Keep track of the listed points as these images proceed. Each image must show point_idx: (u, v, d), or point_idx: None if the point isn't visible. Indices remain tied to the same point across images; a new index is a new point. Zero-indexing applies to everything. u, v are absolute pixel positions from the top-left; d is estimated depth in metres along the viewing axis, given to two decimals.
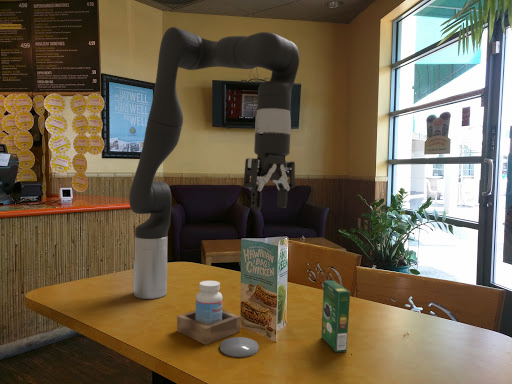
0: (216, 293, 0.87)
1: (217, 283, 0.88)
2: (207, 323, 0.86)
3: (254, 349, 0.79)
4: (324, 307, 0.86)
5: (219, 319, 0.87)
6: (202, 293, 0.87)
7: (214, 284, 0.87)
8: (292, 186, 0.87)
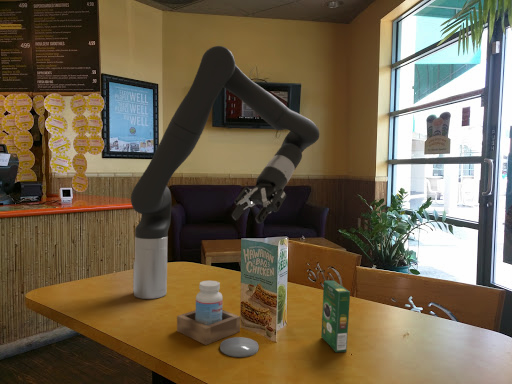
0: (216, 293, 0.87)
1: (217, 283, 0.88)
2: (207, 323, 0.86)
3: (254, 349, 0.79)
4: (324, 307, 0.86)
5: (219, 319, 0.87)
6: (202, 293, 0.87)
7: (214, 284, 0.87)
8: None
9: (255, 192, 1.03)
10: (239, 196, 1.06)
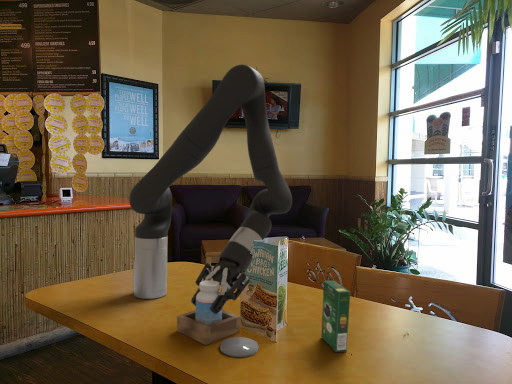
0: (216, 293, 0.87)
1: (217, 283, 0.88)
2: (207, 323, 0.86)
3: (254, 349, 0.79)
4: (324, 307, 0.86)
5: (219, 319, 0.87)
6: (202, 293, 0.87)
7: (214, 284, 0.87)
8: None
9: (218, 271, 0.92)
10: (200, 276, 0.94)
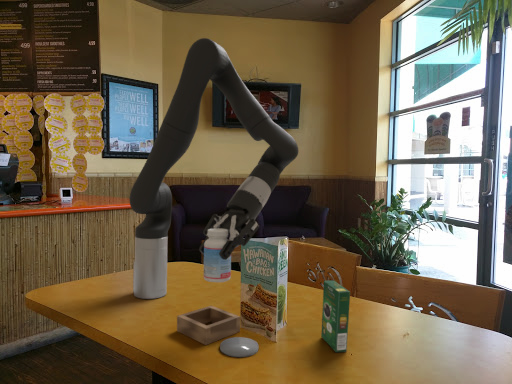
0: (225, 239, 0.85)
1: (225, 230, 0.86)
2: (216, 269, 0.84)
3: (254, 349, 0.79)
4: (324, 307, 0.86)
5: (228, 266, 0.85)
6: (210, 239, 0.85)
7: (222, 230, 0.85)
8: None
9: (226, 220, 0.90)
10: (208, 226, 0.92)
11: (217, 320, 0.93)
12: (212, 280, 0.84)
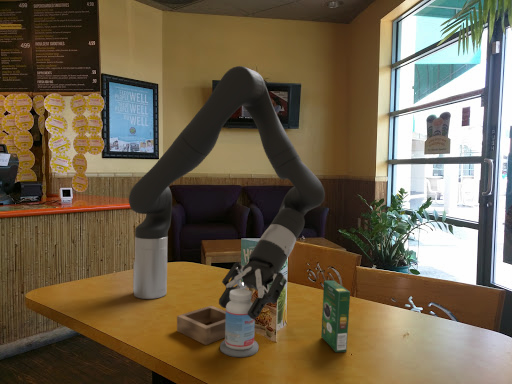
0: (248, 303, 0.80)
1: (249, 292, 0.80)
2: (239, 336, 0.78)
3: (254, 349, 0.79)
4: (324, 307, 0.86)
5: (252, 331, 0.79)
6: (233, 303, 0.79)
7: (246, 293, 0.80)
8: None
9: (248, 273, 0.83)
10: (228, 275, 0.86)
11: (217, 320, 0.93)
12: (235, 348, 0.78)
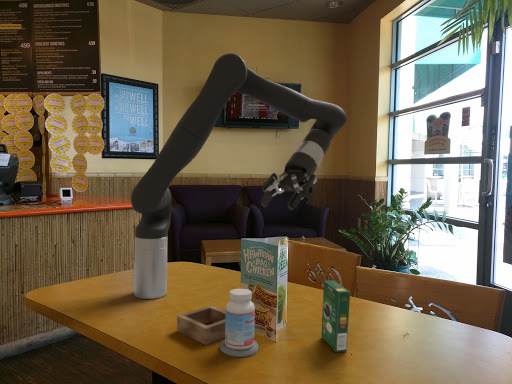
0: (248, 302, 0.80)
1: (249, 291, 0.81)
2: (239, 336, 0.78)
3: (254, 349, 0.79)
4: (324, 307, 0.86)
5: (252, 331, 0.79)
6: (233, 303, 0.79)
7: (246, 293, 0.80)
8: None
9: (285, 178, 0.99)
10: (267, 183, 1.02)
11: (217, 320, 0.93)
12: (235, 348, 0.78)
